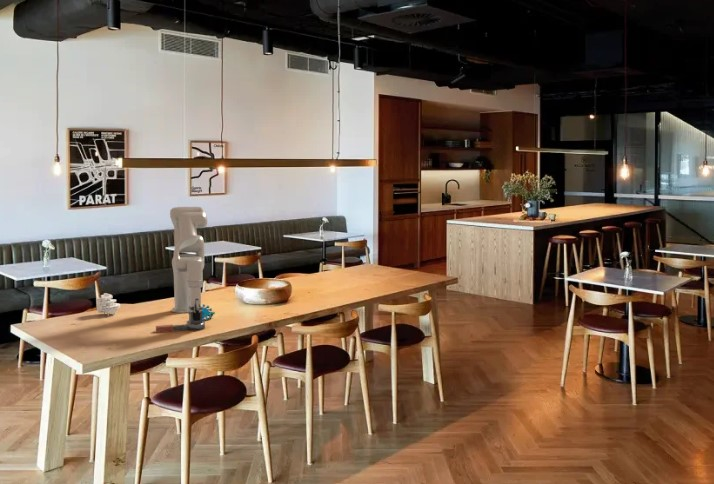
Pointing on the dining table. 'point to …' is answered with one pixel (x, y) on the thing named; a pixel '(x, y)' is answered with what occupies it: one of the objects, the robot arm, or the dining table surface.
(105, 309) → the mechanical part
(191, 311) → the socket
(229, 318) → the dining table surface
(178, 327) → the ratchet
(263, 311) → the dining table surface
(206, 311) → the blue spiky virus model
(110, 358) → the dining table surface
